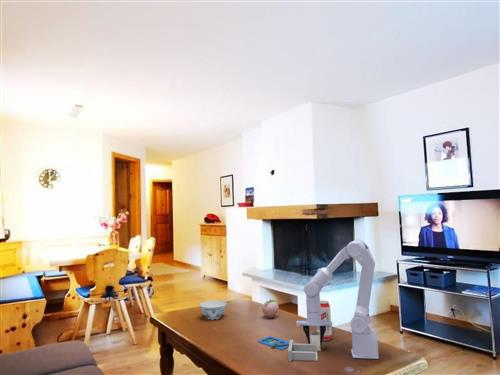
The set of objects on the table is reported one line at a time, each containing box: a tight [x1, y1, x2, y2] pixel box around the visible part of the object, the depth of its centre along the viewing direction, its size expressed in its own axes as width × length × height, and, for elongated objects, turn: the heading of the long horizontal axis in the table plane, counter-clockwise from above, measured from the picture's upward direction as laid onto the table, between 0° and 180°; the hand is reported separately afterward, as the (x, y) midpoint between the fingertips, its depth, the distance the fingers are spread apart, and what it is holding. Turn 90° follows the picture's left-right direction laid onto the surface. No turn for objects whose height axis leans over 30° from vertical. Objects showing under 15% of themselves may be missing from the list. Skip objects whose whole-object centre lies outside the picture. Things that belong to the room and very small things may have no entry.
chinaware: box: [199, 300, 228, 321], centre depth 198 cm, size 15×15×8 cm
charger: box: [309, 331, 322, 352], centre depth 149 cm, size 4×4×6 cm
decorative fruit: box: [261, 299, 280, 319], centre depth 195 cm, size 9×8×10 cm
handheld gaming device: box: [257, 335, 290, 351], centre depth 156 cm, size 8×1×15 cm
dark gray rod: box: [270, 342, 297, 349], centre depth 152 cm, size 10×1×1 cm, turn 100°
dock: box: [287, 339, 318, 363], centre depth 141 cm, size 11×12×4 cm
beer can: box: [316, 300, 333, 342], centre depth 160 cm, size 6×6×16 cm
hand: (315, 344), depth 148 cm, fingers closed on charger, 4 cm apart
